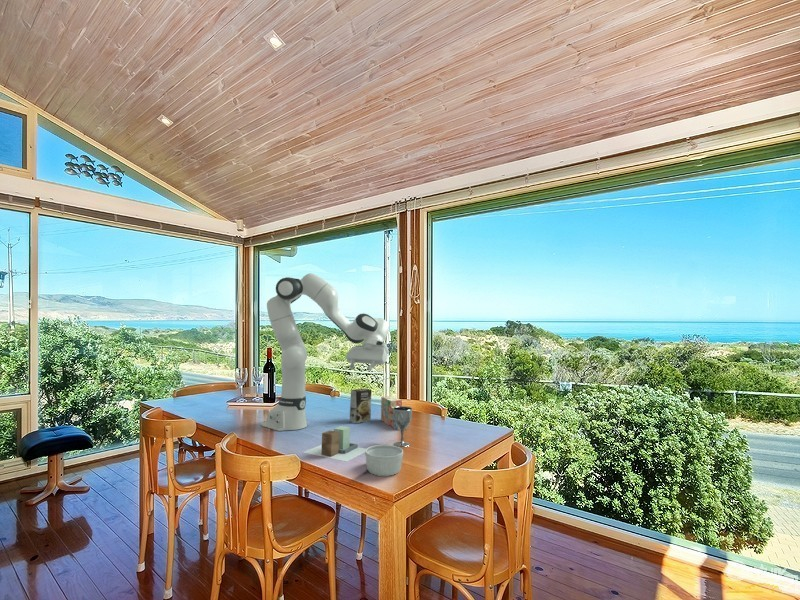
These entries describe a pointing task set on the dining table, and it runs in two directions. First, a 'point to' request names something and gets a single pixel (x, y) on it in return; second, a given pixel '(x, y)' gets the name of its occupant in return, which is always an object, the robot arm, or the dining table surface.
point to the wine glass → (402, 421)
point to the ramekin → (383, 459)
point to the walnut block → (330, 443)
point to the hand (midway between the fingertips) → (359, 369)
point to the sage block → (343, 437)
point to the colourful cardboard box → (390, 410)
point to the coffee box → (360, 405)
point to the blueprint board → (340, 452)
